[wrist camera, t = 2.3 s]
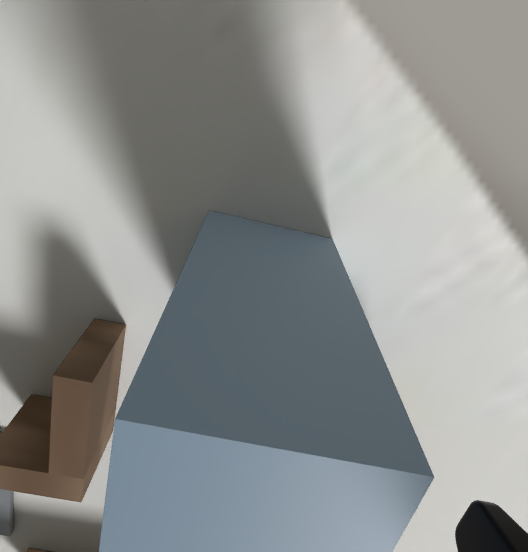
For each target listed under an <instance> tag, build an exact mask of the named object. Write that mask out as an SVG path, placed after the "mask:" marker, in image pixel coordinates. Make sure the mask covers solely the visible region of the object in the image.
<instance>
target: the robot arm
mask: <svg viewBox="0 0 528 552" xmlns="http://www.w3.org/2000/svg"><path fill="white" fill-rule="evenodd" d="M0 448H1V441H0ZM455 537H456V544H457V549H458V552H528V533H526V532H525V531H524V530H523V529H522V528H521V527H520V526H519V525H518V524H517V523H516V522H515V521H514V520H513V519H512V518H511V517H510V516H509V515H508V514H507V513H506V512H505V511H504V510H503V509H502V508H500V507H499V506H498V505H496V504H494V503H490V502H485V501H479V500H476V501H474V502H472V503H471V504H470V506H469V507H468V509H467V511H466V512H465V514H464V515H463V517H462V519H461V520H460V522H459V523H458V525H457V527H456V533H455Z"/></svg>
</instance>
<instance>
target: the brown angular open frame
mask: <svg viewBox="0 0 528 552" xmlns="http://www.w3.org/2000/svg"><path fill="white" fill-rule="evenodd" d="M125 328H126V325H124V324H119V323H114V322H109V321H104V320H99V319H94V320H93V321H92V323H91V324H90V325H89V327H88V328H87V329H86V331H85V332H84V334H83V335H82V336H81V338H80V339H79V340H78V342H77V343H76V345H75V346H74V347H73V349H72V350H71V351H70V353H69V354H68V355H67V357H66V358H65V360H64V361H63V362H62V364H61V365H60V366H59V368H58V369H57V371H56V372H55V373H54V375H53V385H52V398H48V397H43V396H38V395H32V394H31V396H30V397H29V398H28V399H27V401H26V402H25V403H24V405H23V406H22V407H21V409H20V410H19V411H18V413H17V414H16V415H15V417H14V418H13V419H12V421H11V422H10V423H9V425H8V426H7V427H6V429H5V430H4V431H3V433H2V434H1V435H0V441H1V448H0V489H3V490H9V491H15V492H21V493H27V494H33V495H40V496H46V497H52V498H58V499H64V500H70V501H76V502H82V500H83V497H84V495H85V493H86V491H87V488H88V486H89V484H90V482H91V479H92V477H93V475H94V472H95V470H96V468H97V466H98V463H99V461H100V459H101V457H102V454H103V452H104V450H105V448H106V445H107V443H108V441H109V438H110V436H111V434H112V432H113V426H114V418H115V410H116V401H117V393H118V385H119V377H120V369H121V361H122V353H123V344H124V336H125ZM27 552H48V551H42V550H35V549H29V548H28V550H27Z"/></svg>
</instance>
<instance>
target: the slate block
mask: <svg viewBox="0 0 528 552" xmlns="http://www.w3.org/2000/svg"><path fill="white" fill-rule="evenodd" d="M433 478H434V476H433V473H432V471H431V469H430V466H429V464H428V462H427V459H426V457H425V455H424V452H423V450H422V448H421V445H420V443H419V441H418V438H417V436H416V434H415V431H414V429H413V426H412V424H411V422H410V419H409V417H408V415H407V412H406V410H405V408H404V405H403V403H402V401H401V398H400V396H399V394H398V391H397V389H396V387H395V384H394V382H393V380H392V377H391V375H390V373H389V370H388V368H387V366H386V363H385V361H384V359H383V356H382V354H381V352H380V349H379V347H378V345H377V342H376V340H375V338H374V335H373V333H372V331H371V328H370V326H369V323H368V321H367V319H366V316H365V314H364V312H363V309H362V307H361V305H360V302H359V300H358V298H357V295H356V293H355V291H354V288H353V286H352V284H351V281H350V279H349V277H348V274H347V272H346V270H345V267H344V265H343V263H342V260H341V258H340V256H339V253H338V251H337V249H336V246H335V244H334V242H333V239H331V238H327V237H322V236H318V235H314V234H310V233H305V232H301V231H297V230H292V229H288V228H284V227H279V226H275V225H271V224H266V223H262V222H258V221H253V220H249V219H245V218H240V217H236V216H232V215H227V214H223V213H219V212H214V211H210V210H209V212H208V214H207V216H206V219H205V221H204V223H203V225H202V227H201V230H200V232H199V234H198V236H197V239H196V241H195V243H194V245H193V247H192V250H191V252H190V254H189V256H188V258H187V261H186V263H185V265H184V267H183V270H182V272H181V274H180V276H179V278H178V281H177V283H176V285H175V287H174V290H173V292H172V294H171V296H170V298H169V301H168V303H167V305H166V307H165V310H164V312H163V314H162V316H161V318H160V321H159V323H158V325H157V327H156V329H155V332H154V334H153V336H152V338H151V341H150V343H149V345H148V347H147V349H146V352H145V354H144V356H143V358H142V361H141V363H140V365H139V367H138V369H137V372H136V374H135V376H134V378H133V381H132V383H131V385H130V387H129V389H128V392H127V394H126V396H125V398H124V400H123V403H122V405H121V407H120V409H119V412H118V414H117V416H116V418H115V424H114V432H113V441H112V449H111V457H110V465H109V473H108V481H107V489H106V497H105V505H104V513H103V521H102V529H101V537H100V545H99V552H393V550H394V548H395V546H396V545H397V543H398V541H399V539H400V537H401V536H402V534H403V532H404V530H405V528H406V527H407V525H408V523H409V521H410V520H411V518H412V516H413V514H414V512H415V511H416V509H417V507H418V505H419V503H420V502H421V500H422V498H423V496H424V495H425V493H426V491H427V489H428V487H429V486H430V484H431V482H432V480H433Z"/></svg>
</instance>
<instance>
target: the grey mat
mask: <svg viewBox="0 0 528 552" xmlns="http://www.w3.org/2000/svg"><path fill="white" fill-rule="evenodd" d="M1 434H2V432H0V435H1ZM12 532H13V491H9V490H3V489H0V535H6V536H10V535H11V534H12Z"/></svg>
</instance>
